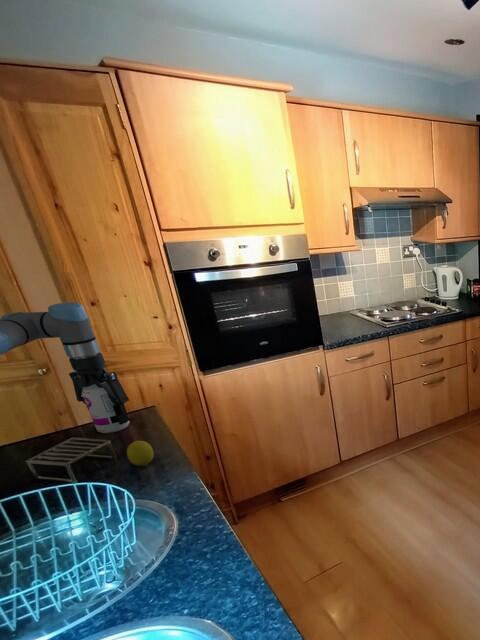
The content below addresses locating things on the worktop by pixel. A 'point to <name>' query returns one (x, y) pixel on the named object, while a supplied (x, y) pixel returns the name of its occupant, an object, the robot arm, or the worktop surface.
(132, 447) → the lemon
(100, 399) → the supplement can
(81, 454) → the wire rack
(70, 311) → the robot arm
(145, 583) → the worktop surface
